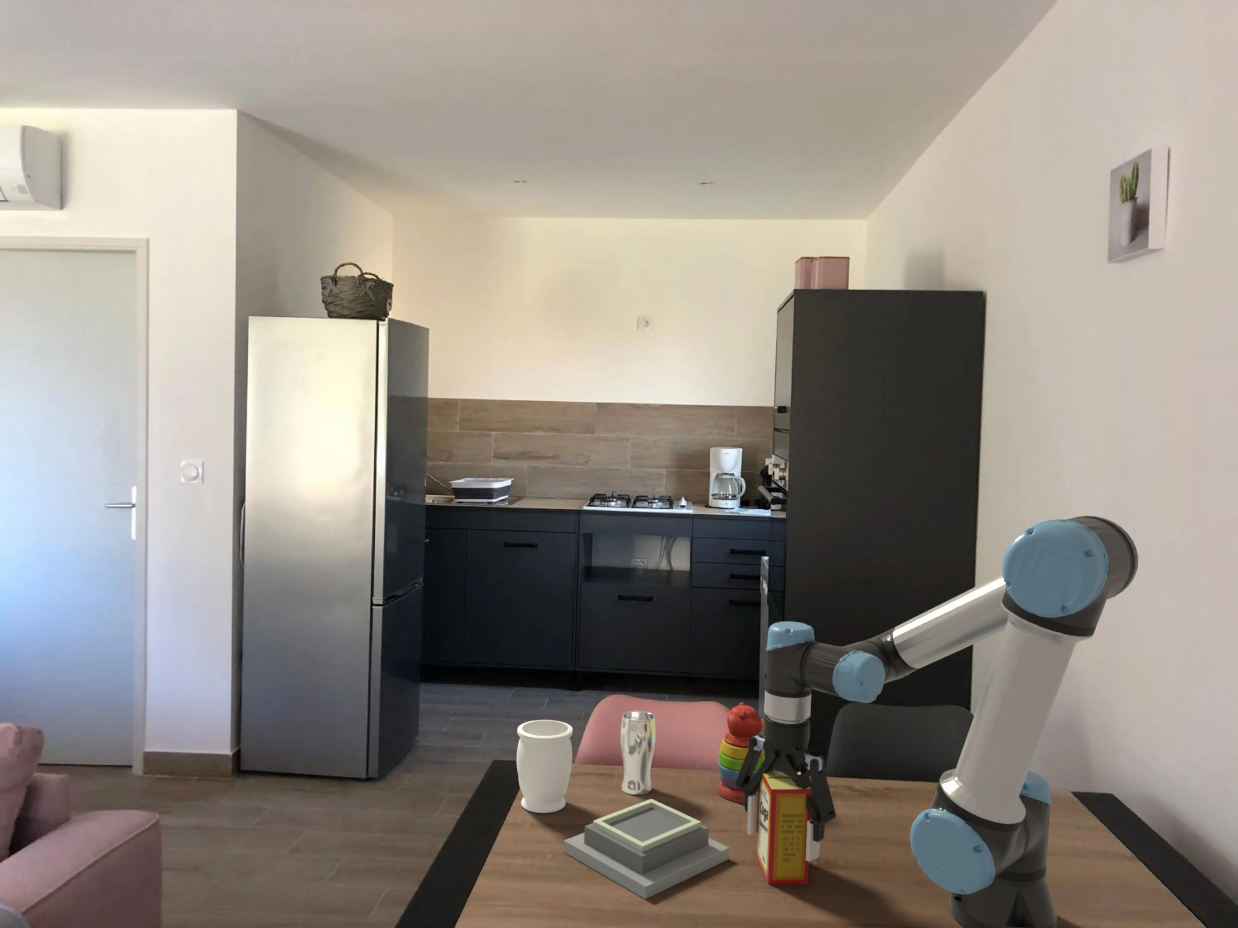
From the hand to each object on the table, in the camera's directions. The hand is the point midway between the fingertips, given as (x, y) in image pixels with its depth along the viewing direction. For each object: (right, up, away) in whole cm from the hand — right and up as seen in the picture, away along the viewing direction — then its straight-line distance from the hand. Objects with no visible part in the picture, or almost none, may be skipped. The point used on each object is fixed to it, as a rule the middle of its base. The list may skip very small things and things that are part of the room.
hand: (782, 844), depth 153 cm
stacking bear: (-2, -3, +31) cm, 31 cm away
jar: (-42, -2, +23) cm, 48 cm away
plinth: (-23, -3, +4) cm, 23 cm away
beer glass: (-24, -2, +31) cm, 39 cm away
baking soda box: (0, -4, 0) cm, 4 cm away
